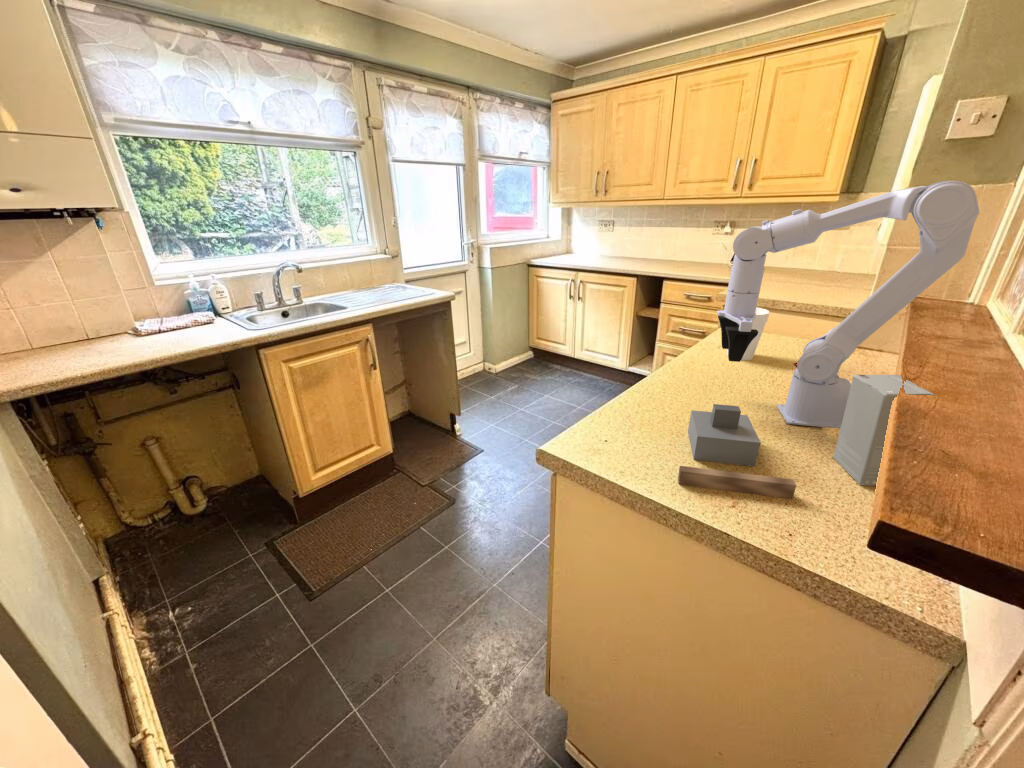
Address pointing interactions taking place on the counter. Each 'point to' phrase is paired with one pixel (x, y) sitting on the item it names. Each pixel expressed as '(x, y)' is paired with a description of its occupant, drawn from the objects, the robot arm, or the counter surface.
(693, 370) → the counter surface
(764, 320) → the foam cup
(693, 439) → the grey stemmed block
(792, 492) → the stopper
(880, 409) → the skincare box
